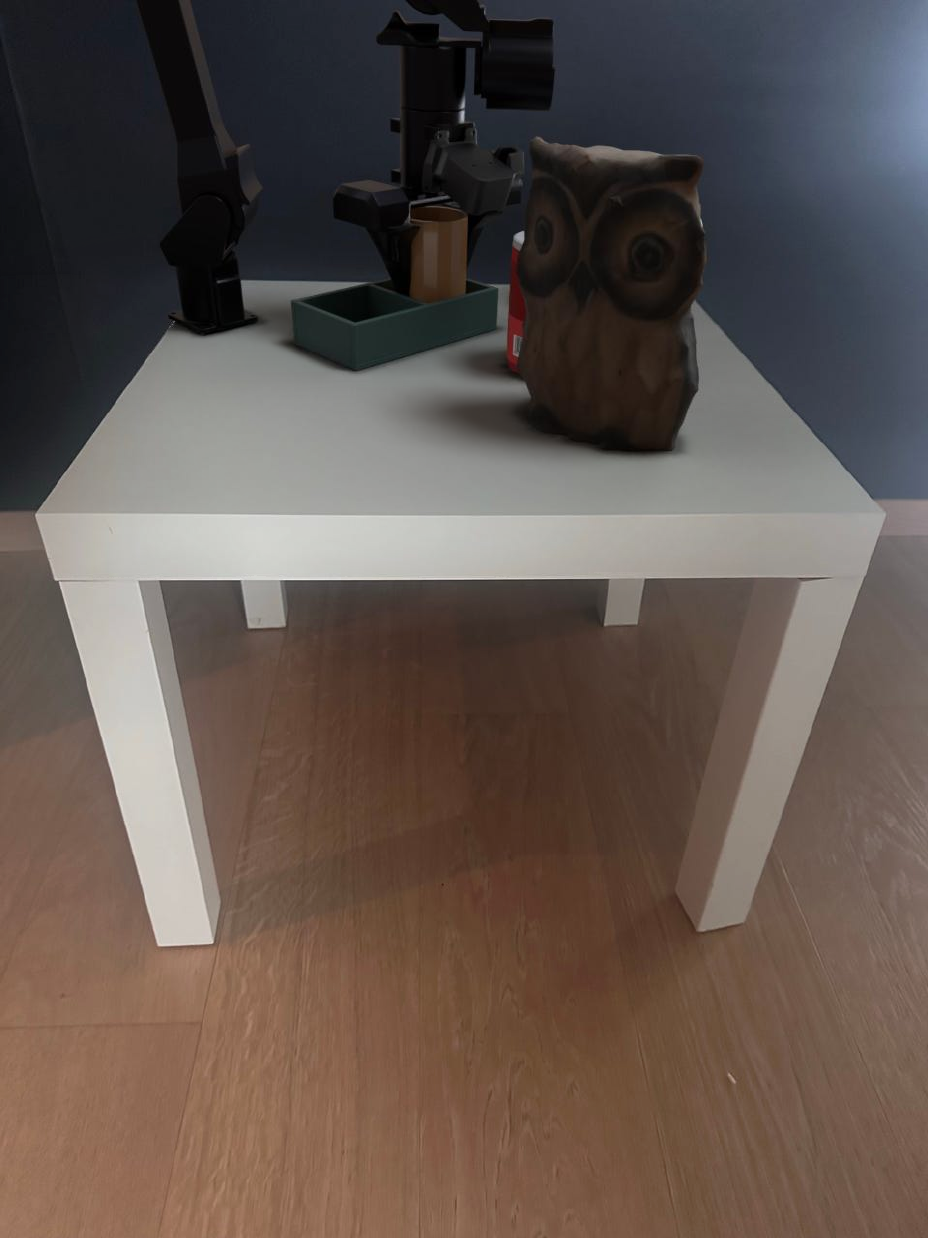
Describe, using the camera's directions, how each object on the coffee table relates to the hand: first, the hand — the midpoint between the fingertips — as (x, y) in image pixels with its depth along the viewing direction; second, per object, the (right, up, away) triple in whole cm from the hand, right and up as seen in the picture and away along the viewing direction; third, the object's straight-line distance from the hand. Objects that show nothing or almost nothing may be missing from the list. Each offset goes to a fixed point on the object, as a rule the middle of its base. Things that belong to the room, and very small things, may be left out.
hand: (430, 290), depth 89 cm
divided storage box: (-3, -5, 0) cm, 6 cm away
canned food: (+11, -9, -6) cm, 16 cm away
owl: (+15, -16, -15) cm, 27 cm away
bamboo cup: (0, -2, +1) cm, 2 cm away
